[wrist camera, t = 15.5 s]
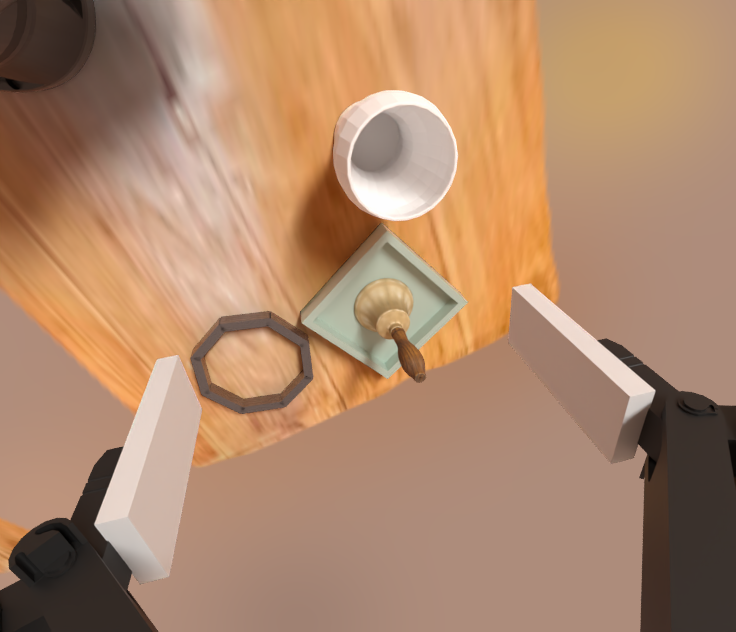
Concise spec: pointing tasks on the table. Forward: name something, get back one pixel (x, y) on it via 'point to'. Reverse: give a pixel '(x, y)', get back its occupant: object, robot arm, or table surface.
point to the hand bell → (391, 319)
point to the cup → (394, 155)
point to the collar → (246, 323)
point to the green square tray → (369, 263)
